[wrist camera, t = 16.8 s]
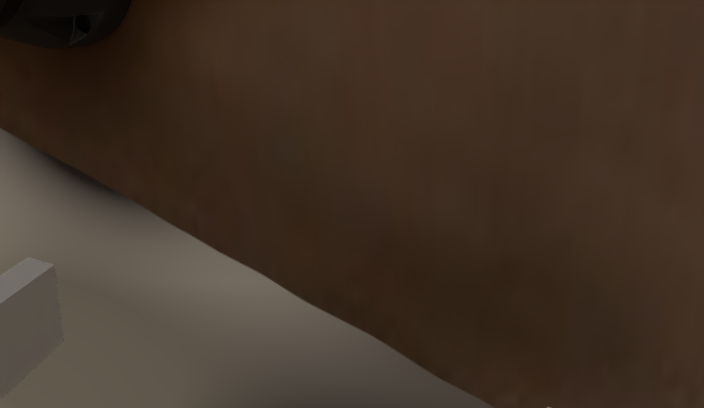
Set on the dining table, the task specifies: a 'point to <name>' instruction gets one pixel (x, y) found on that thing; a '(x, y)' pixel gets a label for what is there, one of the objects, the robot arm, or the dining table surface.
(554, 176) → the dining table surface
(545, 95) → the dining table surface
